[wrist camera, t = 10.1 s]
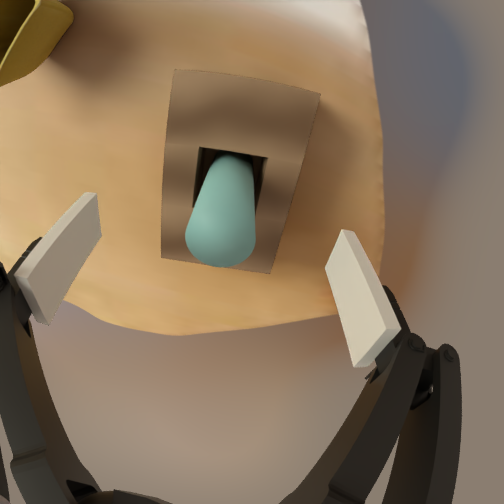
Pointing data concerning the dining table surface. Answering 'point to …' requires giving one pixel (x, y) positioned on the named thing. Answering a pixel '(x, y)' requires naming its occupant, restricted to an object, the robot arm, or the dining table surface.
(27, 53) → the flower pot
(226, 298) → the dining table surface
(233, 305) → the dining table surface
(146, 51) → the dining table surface
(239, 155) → the pin
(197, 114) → the block
